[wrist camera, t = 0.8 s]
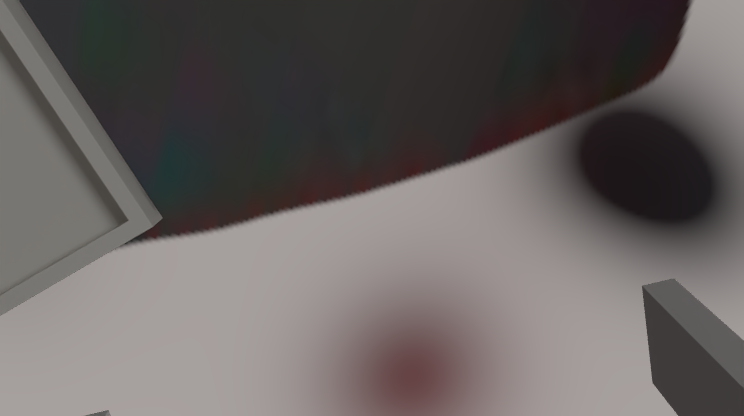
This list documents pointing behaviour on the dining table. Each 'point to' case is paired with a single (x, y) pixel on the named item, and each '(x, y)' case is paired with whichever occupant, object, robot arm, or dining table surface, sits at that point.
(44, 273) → the tray
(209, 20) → the dining table surface
